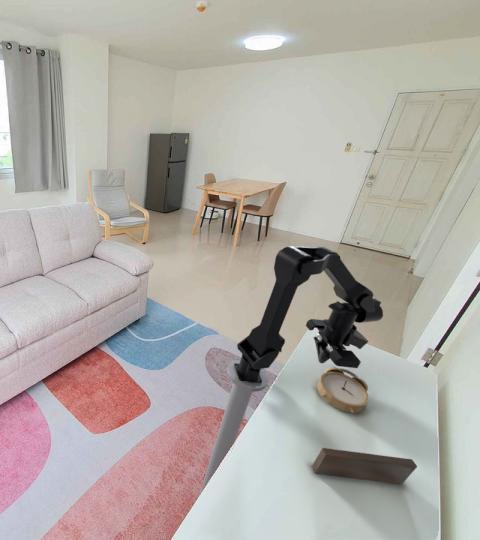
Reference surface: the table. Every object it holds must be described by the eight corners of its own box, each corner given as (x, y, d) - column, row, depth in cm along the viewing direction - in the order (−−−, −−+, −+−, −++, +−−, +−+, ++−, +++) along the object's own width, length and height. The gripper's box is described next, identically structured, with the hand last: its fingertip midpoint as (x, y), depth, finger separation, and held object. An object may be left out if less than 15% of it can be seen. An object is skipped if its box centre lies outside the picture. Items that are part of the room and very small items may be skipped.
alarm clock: (315, 389, 82) (330, 355, 90) (310, 399, 85) (325, 365, 93) (364, 414, 75) (376, 376, 84) (357, 424, 78) (369, 386, 86)
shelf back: (311, 466, 66) (322, 447, 63) (396, 477, 65) (412, 459, 62) (314, 473, 65) (325, 454, 62) (401, 484, 63) (417, 466, 60)
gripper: (393, 347, 76) (367, 389, 83) (350, 306, 93) (331, 345, 100) (347, 342, 77) (326, 385, 84) (313, 303, 93) (297, 341, 100)
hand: (320, 362), depth 92 cm, fingers closed
